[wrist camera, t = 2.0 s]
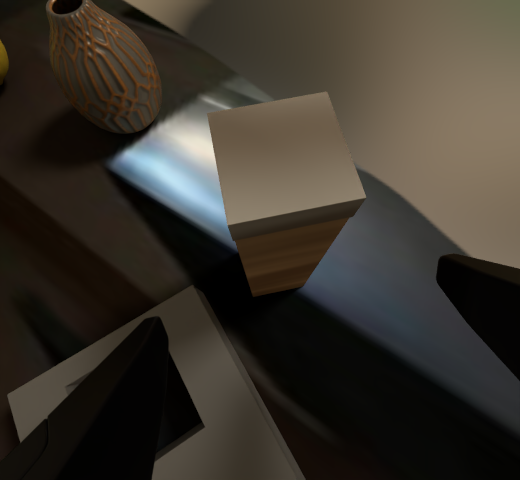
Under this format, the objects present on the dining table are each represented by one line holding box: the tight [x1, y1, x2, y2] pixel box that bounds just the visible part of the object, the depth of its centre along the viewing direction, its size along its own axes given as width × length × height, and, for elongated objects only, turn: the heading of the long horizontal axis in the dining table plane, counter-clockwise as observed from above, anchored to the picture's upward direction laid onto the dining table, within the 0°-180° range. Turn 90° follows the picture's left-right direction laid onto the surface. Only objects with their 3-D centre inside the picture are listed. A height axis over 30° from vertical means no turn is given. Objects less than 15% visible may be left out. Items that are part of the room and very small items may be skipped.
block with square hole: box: [7, 285, 305, 480], centre depth 15 cm, size 16×11×3 cm
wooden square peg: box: [207, 92, 366, 297], centre depth 14 cm, size 4×4×13 cm
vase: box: [46, 0, 162, 134], centre depth 21 cm, size 7×7×9 cm
